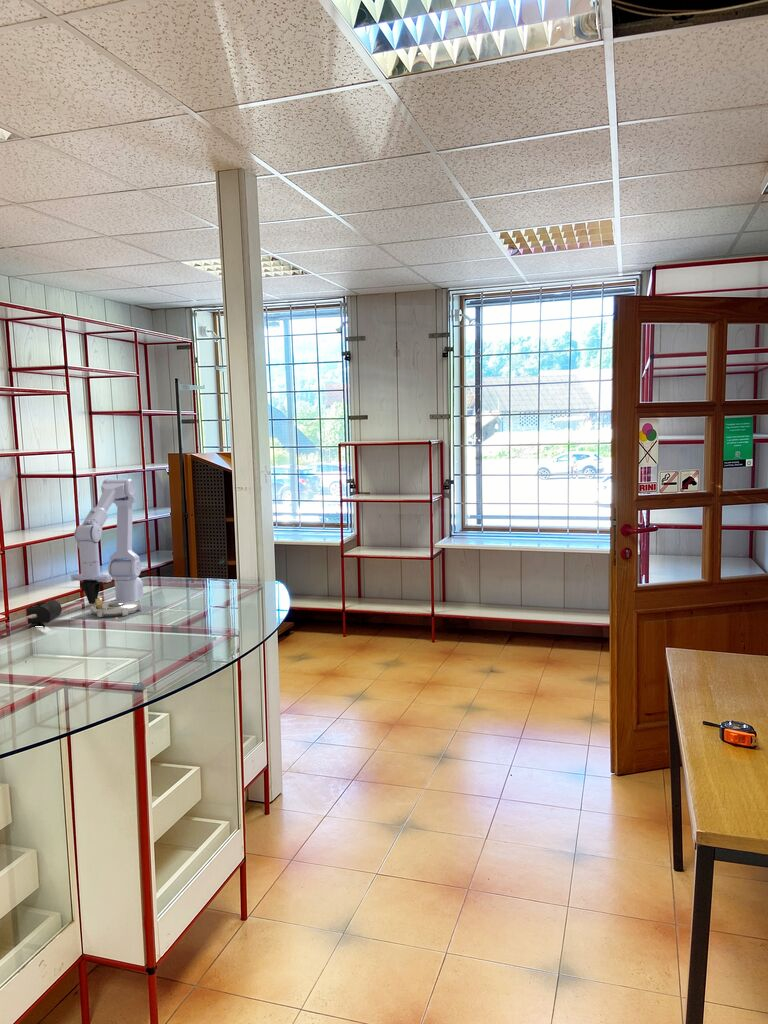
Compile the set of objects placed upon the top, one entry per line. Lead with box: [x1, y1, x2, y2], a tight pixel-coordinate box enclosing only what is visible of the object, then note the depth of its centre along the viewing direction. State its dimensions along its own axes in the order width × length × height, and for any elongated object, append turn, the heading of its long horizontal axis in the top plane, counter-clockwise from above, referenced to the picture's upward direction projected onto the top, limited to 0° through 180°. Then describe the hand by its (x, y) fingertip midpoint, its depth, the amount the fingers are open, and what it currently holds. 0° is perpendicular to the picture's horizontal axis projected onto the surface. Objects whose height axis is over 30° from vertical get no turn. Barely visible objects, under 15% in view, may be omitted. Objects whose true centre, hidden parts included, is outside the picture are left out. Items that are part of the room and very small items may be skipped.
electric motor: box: [26, 599, 63, 628], centre depth 230 cm, size 10×7×7 cm
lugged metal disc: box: [90, 597, 143, 617], centre depth 236 cm, size 14×16×5 cm
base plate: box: [70, 605, 161, 622], centre depth 237 cm, size 20×20×2 cm
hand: (92, 603), depth 234 cm, fingers closed
